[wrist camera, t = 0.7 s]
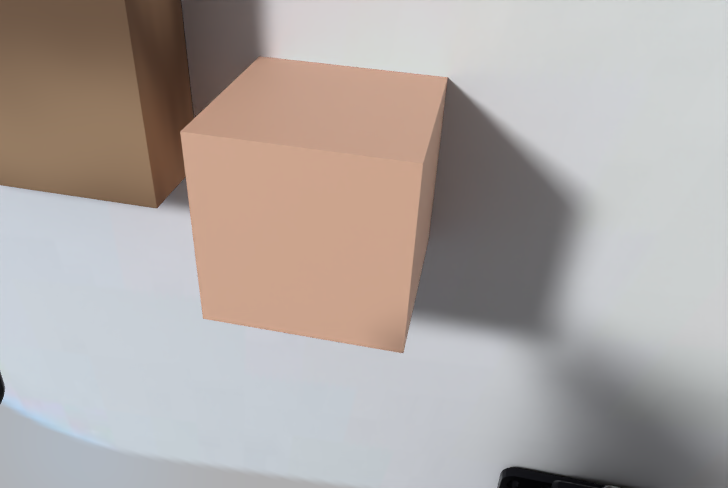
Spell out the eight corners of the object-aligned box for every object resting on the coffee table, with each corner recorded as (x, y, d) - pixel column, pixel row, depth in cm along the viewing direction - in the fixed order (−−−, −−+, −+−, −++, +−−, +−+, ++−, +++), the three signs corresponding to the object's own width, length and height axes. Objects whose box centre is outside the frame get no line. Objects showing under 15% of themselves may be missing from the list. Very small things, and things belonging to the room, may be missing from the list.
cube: (428, 239, 22) (403, 353, 17) (267, 215, 22) (203, 318, 18) (447, 76, 19) (423, 163, 14) (260, 55, 19) (180, 131, 15)
